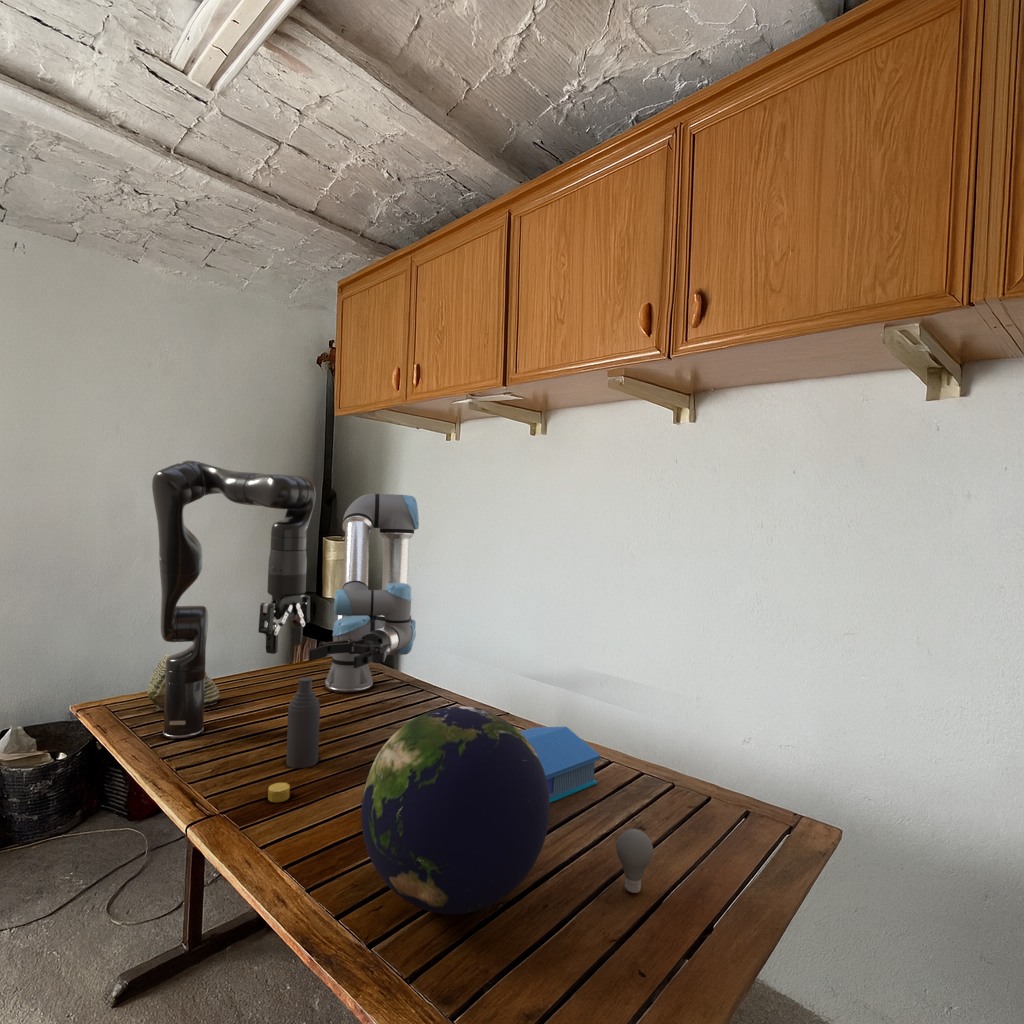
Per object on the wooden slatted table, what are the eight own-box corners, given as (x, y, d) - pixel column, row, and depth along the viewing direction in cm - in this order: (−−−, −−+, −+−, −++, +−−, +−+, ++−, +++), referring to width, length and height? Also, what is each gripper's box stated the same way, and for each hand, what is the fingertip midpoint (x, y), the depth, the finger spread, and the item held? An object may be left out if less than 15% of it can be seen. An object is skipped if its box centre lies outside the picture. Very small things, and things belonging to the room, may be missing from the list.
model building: (474, 846, 117) (476, 792, 117) (402, 796, 135) (404, 749, 135) (608, 788, 143) (610, 744, 143) (533, 753, 161) (535, 714, 161)
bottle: (282, 768, 147) (285, 683, 146) (290, 755, 154) (293, 674, 153) (314, 768, 147) (317, 683, 147) (320, 755, 155) (323, 674, 154)
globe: (316, 925, 94) (323, 724, 93) (419, 831, 121) (425, 675, 121) (501, 992, 83) (511, 764, 82) (568, 871, 110) (576, 700, 110)
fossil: (144, 707, 182) (145, 655, 182) (212, 696, 194) (213, 647, 194) (151, 716, 175) (153, 662, 175) (221, 703, 188) (223, 653, 188)
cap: (293, 797, 133) (294, 787, 133) (274, 804, 130) (274, 793, 129) (283, 791, 136) (283, 780, 136) (263, 797, 132) (264, 786, 132)
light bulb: (610, 879, 108) (613, 822, 108) (644, 879, 109) (647, 822, 109) (619, 902, 102) (622, 840, 102) (655, 901, 103) (658, 840, 103)
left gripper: (282, 576, 124) (279, 658, 124) (322, 569, 138) (319, 643, 138) (249, 573, 126) (246, 654, 126) (292, 566, 140) (289, 640, 140)
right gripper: (417, 661, 175) (374, 680, 155) (341, 650, 184) (291, 667, 164) (418, 634, 175) (375, 650, 155) (342, 624, 184) (293, 638, 164)
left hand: (284, 648), depth 132 cm, fingers open, 8 cm apart
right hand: (332, 659), depth 160 cm, fingers open, 13 cm apart
